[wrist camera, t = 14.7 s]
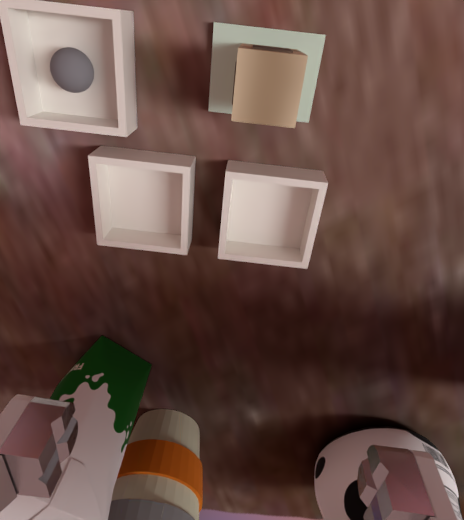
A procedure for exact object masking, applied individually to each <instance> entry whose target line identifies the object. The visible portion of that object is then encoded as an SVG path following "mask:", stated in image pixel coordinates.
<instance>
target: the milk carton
mask: <svg viewBox="0 0 464 520" xmlns="http://www.w3.org/2000/svg"><path fill="white" fill-rule="evenodd" d="M151 366H152V365H151V364H150V363H148V362H146V361H145V360H143V359H141V358H140V357H138V356H136V355H135V354H133V353H131V352H130V351H128V350H126V349H125V348H123V347H121V346H120V345H118V344H116V343H115V342H113V341H111V340H110V339H108V338H106V337H105V336H103V335H102V336H101V337H100V338H99V339H98V340H97V341H96V342H95V343H94V345H93V346H92V347H91V348H90V349H89V350H88V351H87V352H86V353H85V354H84V355H83V356H82V357H81V359H80V360H79V361H78V362H77V363H76V364H75V365H74V366H73V367H72V368H71V370H70V371H69V372H68V373H67V374H66V375H65V376H64V378H63V379H62V380H61V381H60V382H59V384H58V385H57V387H56V388H55V390H54V392H53V394H52V396H51V397H50V399H52V400H59V401H66V402H73V403H74V406H75V412H74V414H73V417H74V418H75V419H76V420H77V422H78V434H77V438H76V442H75V445H74V447H73V450H72V452H71V454H70V456H69V457H68V458H66V459H65V460H64V461H63V462H61V463H60V465H61V470H62V474H61V476H60V478H59V480H58V482H57V484H56V487H55V489H54V491H53V493H52V495H51V497H50V498H42V497H34V496H25V495H17V498H15V499H14V500H13V501H12V502H11V503H10V504H9V505H8V506H7V507H6V508H4V509H3V510H2V511H1V512H0V520H108V516H109V511H110V505H111V500H112V494H113V489H114V486H115V482H116V479H117V476H118V473H119V469H120V466H121V463H122V460H123V457H124V453H125V450H126V447H127V444H128V441H129V437H130V434H131V431H132V428H133V425H134V421H135V418H136V415H137V412H138V408H139V405H140V402H141V399H142V396H143V392H144V389H145V386H146V382H147V379H148V376H149V373H150V369H151Z"/></svg>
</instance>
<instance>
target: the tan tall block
mask: <svg viewBox="0 0 464 520" xmlns="http://www.w3.org/2000/svg"><path fill="white" fill-rule="evenodd" d="M307 59H308V55H306V54H304V53H303V52H301V51H299V50H298V49H290V48H281V47H273V46H264V45H255V44H246V43H242V44H241V45H240V46H239V47H238V54H237V61H236V64H235V75H234V86H233V97H232V105H233V108H232V119H231V121H237V122H245V123H254V124H263V125H272V126H280V127H289V128H295V126H296V120H297V114H298V109H299V103H300V98H301V92H302V87H303V81H304V75H305V70H306V64H307Z"/></svg>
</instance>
